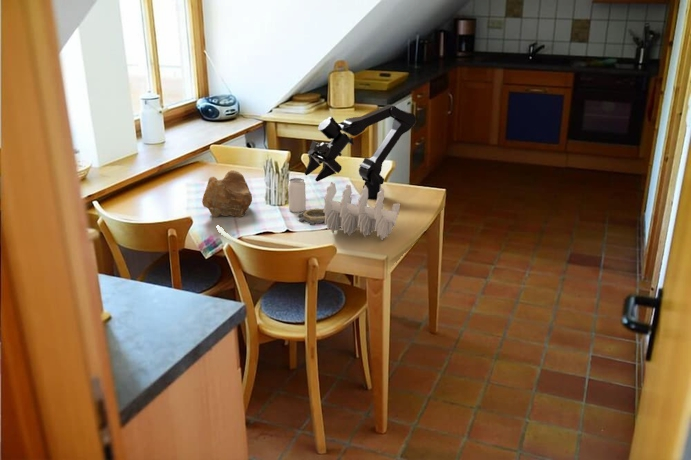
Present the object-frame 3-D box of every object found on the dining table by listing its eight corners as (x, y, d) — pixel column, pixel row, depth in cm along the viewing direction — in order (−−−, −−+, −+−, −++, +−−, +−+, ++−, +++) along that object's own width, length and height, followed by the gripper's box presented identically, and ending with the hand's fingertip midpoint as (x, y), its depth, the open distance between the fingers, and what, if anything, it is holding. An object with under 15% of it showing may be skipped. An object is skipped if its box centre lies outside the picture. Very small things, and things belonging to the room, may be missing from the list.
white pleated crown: (388, 254, 222) (321, 240, 229) (403, 218, 233) (338, 206, 240) (385, 216, 209) (314, 203, 216) (401, 180, 220) (332, 169, 227)
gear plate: (340, 213, 248) (340, 208, 247) (331, 226, 235) (331, 221, 234) (304, 210, 251) (304, 205, 250) (293, 223, 238) (293, 218, 237)
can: (303, 213, 248) (302, 183, 243) (287, 212, 249) (286, 182, 245) (307, 207, 254) (307, 178, 249) (291, 206, 255) (290, 177, 250)
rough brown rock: (235, 228, 235) (237, 188, 230) (196, 218, 240) (196, 180, 235) (265, 210, 256) (267, 173, 251) (228, 201, 261) (229, 165, 256)
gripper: (311, 128, 254) (286, 159, 252) (334, 138, 238) (307, 171, 237) (329, 146, 260) (305, 176, 259) (352, 156, 245) (326, 188, 244)
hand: (310, 177), depth 250 cm, fingers open, 9 cm apart
